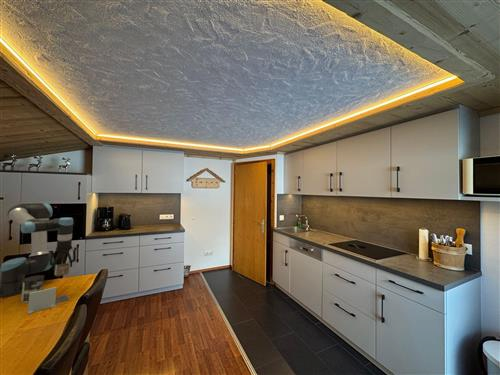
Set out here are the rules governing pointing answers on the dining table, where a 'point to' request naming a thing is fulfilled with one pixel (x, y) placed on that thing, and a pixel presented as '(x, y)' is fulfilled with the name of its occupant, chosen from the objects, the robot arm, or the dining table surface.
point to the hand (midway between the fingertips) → (62, 273)
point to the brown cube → (62, 269)
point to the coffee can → (31, 286)
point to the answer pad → (61, 299)
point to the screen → (41, 300)
